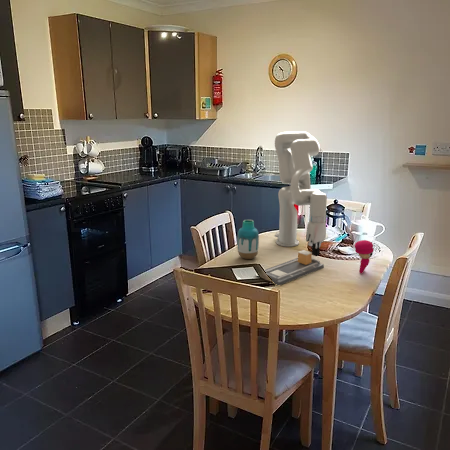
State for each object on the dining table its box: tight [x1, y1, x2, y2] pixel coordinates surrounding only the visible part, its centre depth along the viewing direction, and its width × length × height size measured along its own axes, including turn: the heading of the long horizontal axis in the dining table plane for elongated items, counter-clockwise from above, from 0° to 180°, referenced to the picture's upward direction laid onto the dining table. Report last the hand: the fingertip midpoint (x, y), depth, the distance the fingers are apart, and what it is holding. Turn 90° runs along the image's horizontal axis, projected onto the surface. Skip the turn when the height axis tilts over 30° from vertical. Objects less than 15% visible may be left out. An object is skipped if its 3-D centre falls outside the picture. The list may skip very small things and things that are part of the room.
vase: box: [236, 219, 260, 260], centre depth 212 cm, size 11×11×19 cm
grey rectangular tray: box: [263, 257, 325, 286], centre depth 197 cm, size 31×14×3 cm, turn 131°
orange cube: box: [297, 249, 313, 265], centre depth 202 cm, size 4×5×5 cm
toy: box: [354, 239, 374, 274], centre depth 194 cm, size 8×8×15 cm
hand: (315, 255), depth 207 cm, fingers closed
